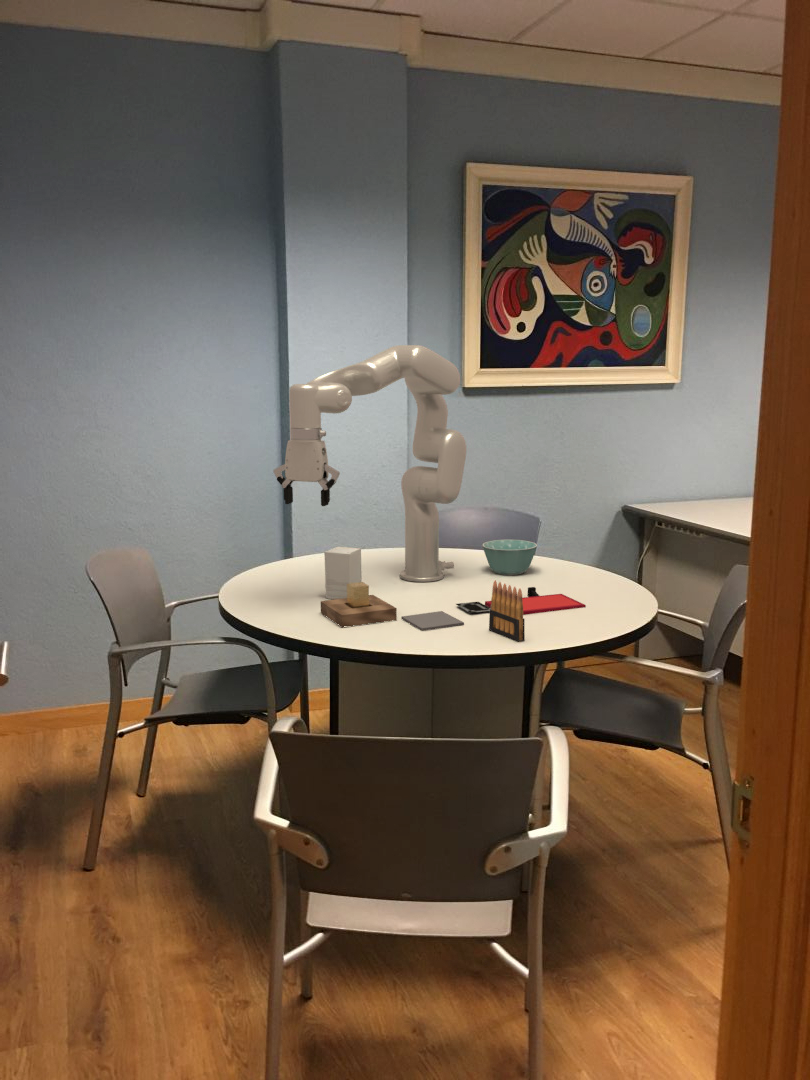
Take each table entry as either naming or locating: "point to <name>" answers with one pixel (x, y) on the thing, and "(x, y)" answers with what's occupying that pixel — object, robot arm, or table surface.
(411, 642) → the table surface
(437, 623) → the rubber mat
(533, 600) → the red board with handle
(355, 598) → the wooden block
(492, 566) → the bowl
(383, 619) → the socket block
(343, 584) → the supplement box
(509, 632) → the ammunition clip
